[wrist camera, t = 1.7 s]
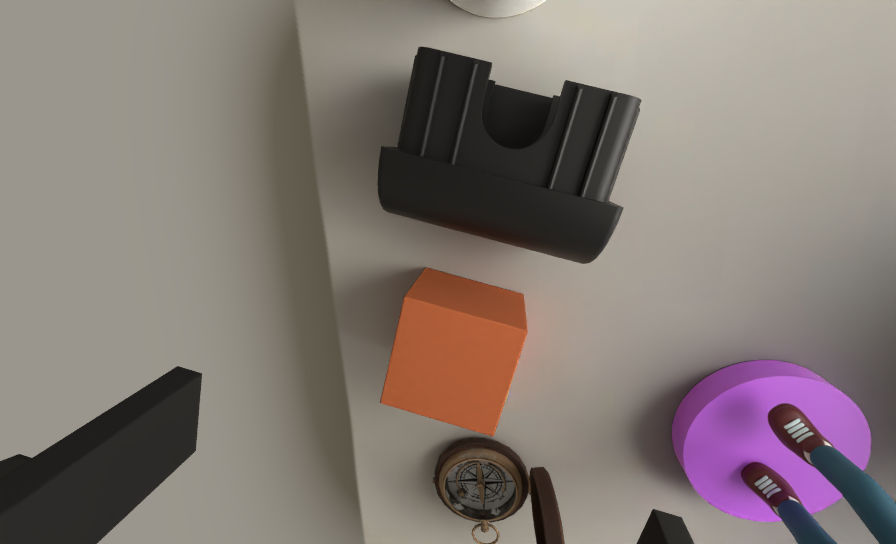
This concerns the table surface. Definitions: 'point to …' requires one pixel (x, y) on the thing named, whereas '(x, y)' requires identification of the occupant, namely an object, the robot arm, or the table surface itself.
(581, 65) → the table surface
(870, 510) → the figurine
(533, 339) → the table surface
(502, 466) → the compass
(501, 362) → the orange cube
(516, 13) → the cup
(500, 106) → the end cap
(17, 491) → the robot arm
